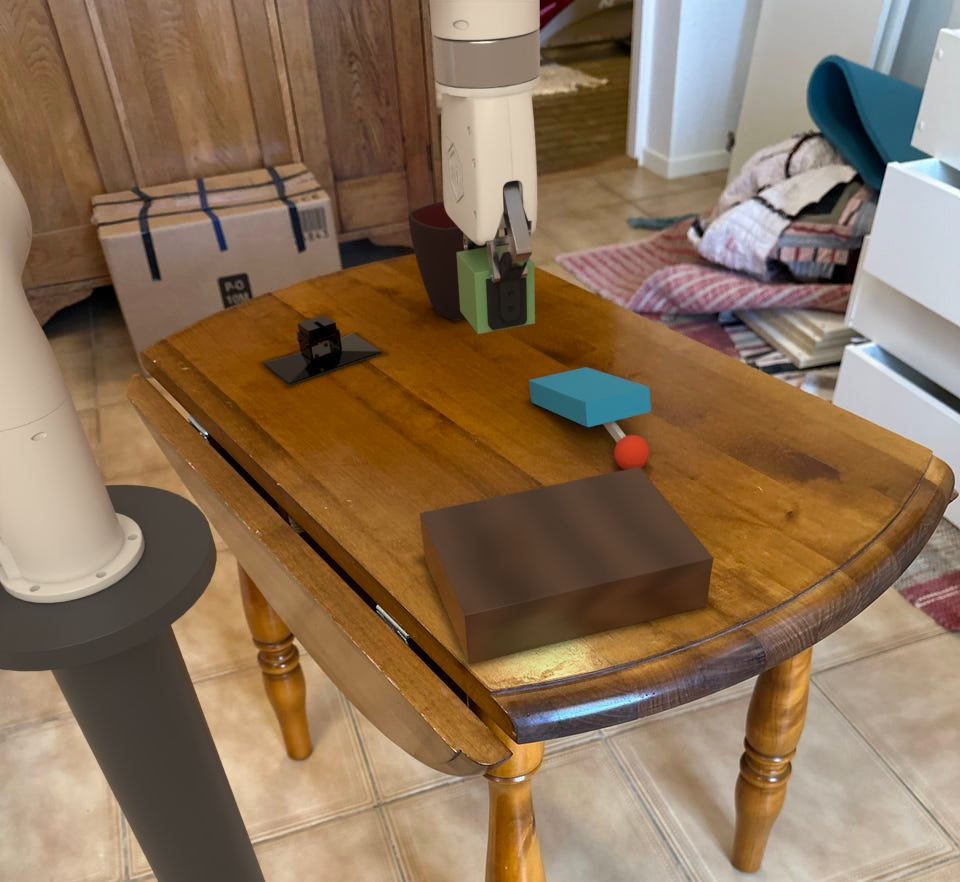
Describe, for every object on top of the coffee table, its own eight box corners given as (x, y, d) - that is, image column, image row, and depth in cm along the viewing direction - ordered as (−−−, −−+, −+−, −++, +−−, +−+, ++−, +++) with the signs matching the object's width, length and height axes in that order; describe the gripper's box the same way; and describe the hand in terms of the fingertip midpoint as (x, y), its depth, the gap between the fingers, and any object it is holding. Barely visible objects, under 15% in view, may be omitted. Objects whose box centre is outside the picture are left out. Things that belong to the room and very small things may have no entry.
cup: (406, 309, 121) (396, 213, 113) (491, 281, 127) (487, 187, 119) (449, 333, 115) (441, 233, 107) (536, 302, 121) (535, 205, 113)
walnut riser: (468, 664, 71) (464, 615, 68) (424, 560, 81) (419, 512, 78) (706, 607, 75) (713, 557, 71) (636, 513, 85) (639, 466, 81)
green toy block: (477, 334, 76) (474, 272, 72) (460, 311, 79) (456, 251, 76) (535, 323, 77) (534, 262, 73) (515, 301, 80) (513, 242, 77)
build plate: (290, 386, 107) (281, 348, 104) (262, 365, 112) (254, 328, 109) (381, 353, 112) (376, 316, 109) (352, 334, 117) (346, 298, 113)
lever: (536, 443, 103) (609, 482, 88) (528, 380, 100) (602, 409, 85) (592, 429, 105) (673, 465, 89) (586, 367, 102) (669, 393, 86)
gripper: (405, 47, 71) (426, 284, 83) (472, 93, 59) (485, 363, 71) (498, 35, 72) (505, 270, 85) (582, 78, 60) (576, 345, 72)
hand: (496, 310), depth 78 cm, fingers closed on green toy block, 5 cm apart
